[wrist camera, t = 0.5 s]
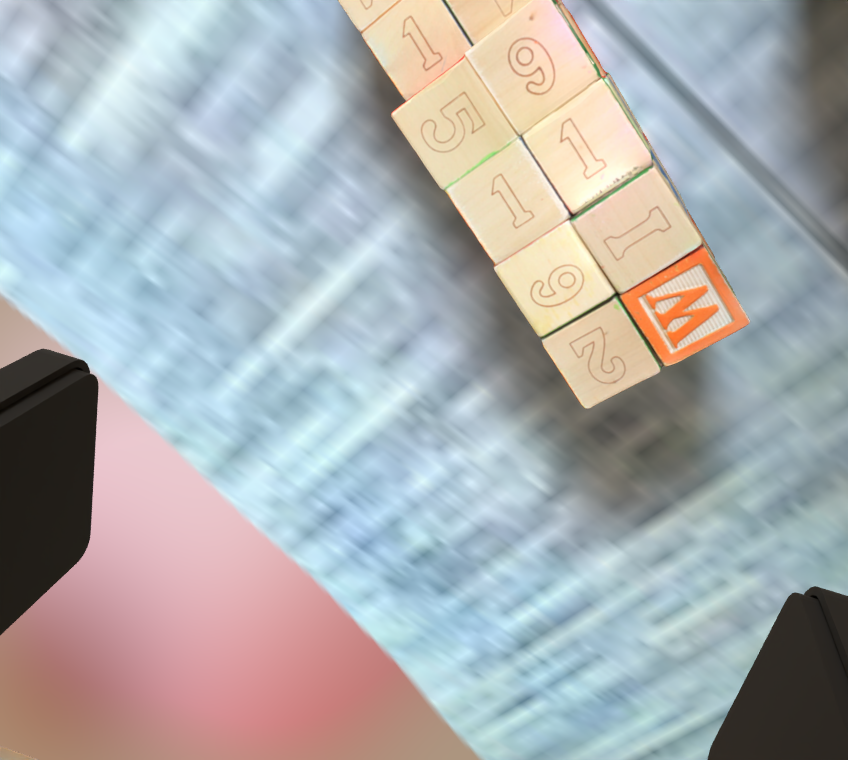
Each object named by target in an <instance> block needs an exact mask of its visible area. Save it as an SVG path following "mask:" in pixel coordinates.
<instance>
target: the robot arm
mask: <svg viewBox="0 0 848 760" xmlns="http://www.w3.org/2000/svg"><path fill="white" fill-rule="evenodd" d="M97 403H98V381H97V378H96V377H95V376H94V375H93V374H90V370H89V367H88V364H87V363H86V362H85V361H83V360H80V359H77V358H74V357H70V356H67V355H64V354H61V353H57V352H54V351H51V350H47V349H40V350H37V351H35V352H33V353H31V354H29V355H27V356H25V357H23V358H21V359H19V360H17V361H15V362H13V363H11V364H9V365H7V366H5V367H3V368H1V369H0V635H1V634H2V633H3V632H4V631H5V630H6V629H7V628H9V626H10V625H12V623H14V622H15V621H16V620H17V619H18V618H19V617H20V616H21V615H22V614H23V613H24V612H25V611H26V610H28V609H29V608H30V607H31V606H32V605H33V604H34V603H35V602H36V601H37V600H38V599H39V598H40V597H41V596H42V595H43V594H45V593H46V592H47V591H48V590H49V589H50V588H51V587H52V586H53V585H54V584H55V583H56V582H57V581H58V580H59V579H60V578H61V577H62V576H64V575H65V574H66V573H67V572H68V571H69V570H70V569H71V568H72V567H73V566H74V565H75V564H76V563H77V562H78V561H79V560H80V558H81V557H82V556H83V554H84V553H85V551H86V548H87V546H88V543H89V540H90V531H91V514H92V495H93V478H94V459H95V440H96V421H97ZM0 760H38V759H35V758H32V757H30V756H27V755H24V754H21V753H19V752H16V751H13V750H10V749H8V748H5V747H2V746H0ZM708 760H848V596H845V595H842V594H839V593H836V592H832V591H829V590H826V589H823V588H819V587H816V586H815V587H811V588H810V589H809V590H807V591H806V592H805V594H804V595H802V594H799V593H796V592H795V593H792V594H791V595H790V596H789V597H788V599H787V600H786V602H785V604H784V605H783V607H782V609H781V611H780V613H779V615H778V617H777V619H776V621H775V623H774V625H773V627H772V629H771V631H770V633H769V635H768V637H767V639H766V640H765V642H764V644H763V646H762V648H761V650H760V652H759V654H758V656H757V658H756V660H755V662H754V664H753V666H752V668H751V670H750V672H749V673H748V675H747V677H746V679H745V681H744V683H743V685H742V687H741V689H740V691H739V693H738V695H737V697H736V699H735V701H734V703H733V705H732V706H731V708H730V710H729V712H728V714H727V716H726V718H725V720H724V722H723V724H722V726H721V728H720V730H719V732H718V734H717V736H716V738H715V740H714V741H713V744H712V746H711V748H710V752H709V756H708Z"/></svg>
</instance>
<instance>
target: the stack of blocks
mask: <svg viewBox="0 0 848 760" xmlns="http://www.w3.org/2000/svg"><path fill="white" fill-rule="evenodd" d="M338 1H339V3H340V4H341V6H342V7H343V9H344V10H345V11H346V13H347V14H348V16H349V17H350V19H351V20H352V22H353V24H354V25H355V27H356V28H357V29H358V30H359V32H360V33H361V34H362V37H363V39H364V41H365V42H366V44H367V46H368V47H369V48H370V50H371V51H372V53H373V55H374V56H375V58H376V59H377V60H378V62H379V63H380V65H381V66H382V68H383V69H384V71H385V72H386V73H387V75H388V76H389V78H390V79H391V81H392V82H393V84H394V85H395V87H396V88H397V89H398V91H399V92H400V94H401V95H402V97H403V98H404V99H405V100H406V102H404V103H403V104H402V105H400V106H399V107H398V108H396V109H395V110H394V111H393V112H392V113H391V117H392V118H393V120H394V121H395V123H396V124H397V126H398V127H399V128H400V130H401V131H402V133H403V134H404V136H405V137H406V139H407V140H408V142H409V143H410V144H411V146H412V147H413V149H414V150H415V152H416V153H417V155H418V156H419V158H420V159H421V161H422V162H423V164H424V165H425V166H426V168H427V169H428V171H429V172H430V174H431V175H432V177H433V178H434V180H435V181H436V183H437V184H438V186H439V187H440V188H441V189H442V190H444V191H446V193H447V194H448V196H449V198H450V199H451V201H452V202H453V204H454V206H455V207H456V209H457V210H458V212H459V213H460V215H461V216H462V218H463V219H464V221H465V222H466V223H467V225H468V226H469V228H470V229H471V231H472V232H473V233H474V235H475V237H476V238H477V240H478V241H479V243H480V244H481V246H482V247H483V249H484V250H485V252H486V253H487V255H488V256H489V257H490V259H491V260H492V261H493V262H494V267H493V268H494V270H495V272H496V274H497V275H498V277H499V278H500V280H501V281H502V283H503V284H504V286H505V287H506V289H507V290H508V292H509V293H510V295H511V296H512V298H513V299H514V301H515V302H516V304H517V305H518V307H519V308H520V310H521V311H522V313H523V314H524V316H525V317H526V319H527V320H528V322H529V323H530V325H531V326H532V328H533V329H534V331H535V333H536V334H537V335H538V336H539V337H541V341H542V344H543V347H544V348H545V350H546V351H547V353H548V354H549V356H550V357H551V359H552V360H553V362H554V364H555V365H556V367H557V368H558V370H559V371H560V373H561V374H562V376H563V378H564V379H565V381H566V382H567V384H568V385H569V387H570V388H571V390H572V391H573V393H574V394H575V396H576V398H577V399H578V401H579V402H580V404H581V405H582V406H583V407H584V408H585V409H588V408H591V407H593V406H595V405H597V404H599V403H600V402H602V401H604V400H606V399H608V398H610V397H612V396H614V395H616V394H618V393H620V392H622V391H624V390H626V389H628V388H630V387H632V386H634V385H636V384H638V383H640V382H642V381H644V380H646V379H648V378H650V377H652V376H654V375H656V374H658V373H659V372H660V371H661V367H662V366H666V367H667V366H670V365H673V364H675V363H678V362H680V361H682V360H683V359H685V358H687V357H689V356H691V355H693V354H695V353H697V352H699V351H701V350H702V349H704V348H706V347H708V346H710V345H712V344H714V343H716V342H718V341H719V340H721V339H723V338H725V337H727V336H729V335H731V334H733V333H734V332H736V331H738V330H740V329H742V328H743V327H745V326H746V325H748V324H749V323H750V320H749V318H748V316H747V315H746V313H745V311H744V310H743V308H742V306H741V305H740V303H739V302H738V300H737V298H736V296H735V294H734V292H733V289H732V288H731V286H730V284H729V282H728V281H727V279H726V277H725V275H724V274H723V272H722V271H721V269H720V267H719V266H718V264H717V262H716V261H715V256H714V255H713V253H712V251H711V250H710V248H709V246H708V244H707V243H706V241H705V239H704V238H703V236H702V234H701V232H700V231H699V229H698V227H697V226H696V224H695V222H694V220H693V219H692V217H691V215H690V214H689V212H688V210H687V208H686V206H685V204H684V202H683V199H682V197H681V196H680V194H679V192H678V190H677V189H676V187H675V185H674V184H673V182H672V180H671V179H670V177H669V175H668V174H667V172H666V170H665V168H664V167H663V165H662V163H661V162H660V160H659V158H658V157H657V155H656V153H655V152H654V150H653V148H652V146H651V145H650V143H649V141H648V139H647V138H646V136H645V134H644V133H643V131H642V129H641V127H640V125H639V123H638V122H637V120H636V118H635V116H634V115H633V113H632V111H631V110H630V108H629V106H628V104H627V103H626V101H625V99H624V98H623V96H622V94H621V92H620V91H619V89H618V87H617V86H616V84H615V82H614V80H613V79H612V77H611V75H610V74H609V73H607V72H605V71H604V69H603V68H602V66H601V64H600V62H599V61H598V59H597V57H596V56H595V54H594V52H593V51H592V49H591V47H590V46H589V44H588V42H587V41H586V39H585V37H584V36H583V34H582V32H581V30H580V29H579V27H578V25H577V24H576V22H575V20H574V18H573V17H572V15H571V13H570V12H569V11H568V10H567V9H566V8H565V6H564V4H563V3H562V1H561V0H338Z"/></svg>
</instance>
